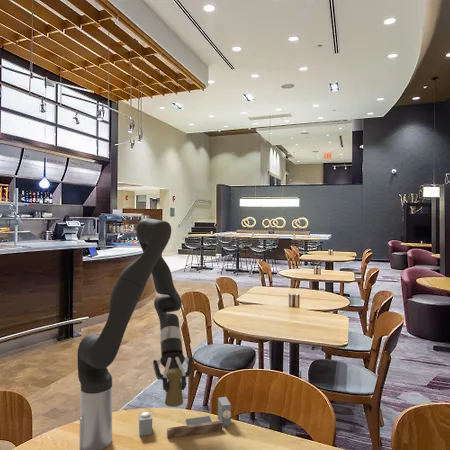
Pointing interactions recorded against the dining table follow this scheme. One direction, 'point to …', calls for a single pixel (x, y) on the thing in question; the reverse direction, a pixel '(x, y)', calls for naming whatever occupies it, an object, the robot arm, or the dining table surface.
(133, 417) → the dining table surface
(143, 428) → the near end cabinet
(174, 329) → the robot arm
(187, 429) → the handrail
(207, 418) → the mat
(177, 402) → the olive pawn
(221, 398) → the far end cabinet
